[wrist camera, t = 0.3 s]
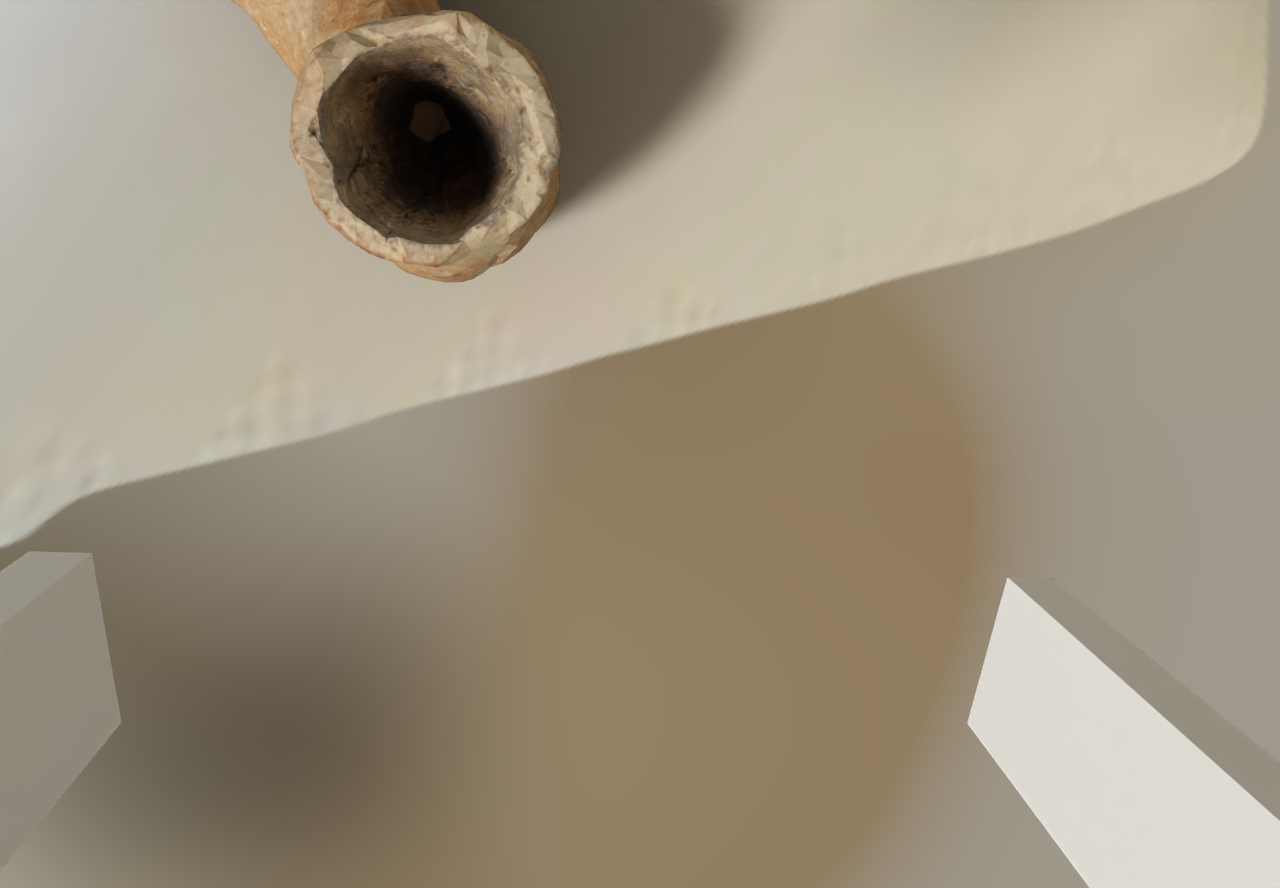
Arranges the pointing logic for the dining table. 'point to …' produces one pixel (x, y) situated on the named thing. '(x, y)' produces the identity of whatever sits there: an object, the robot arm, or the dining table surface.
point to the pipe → (417, 129)
